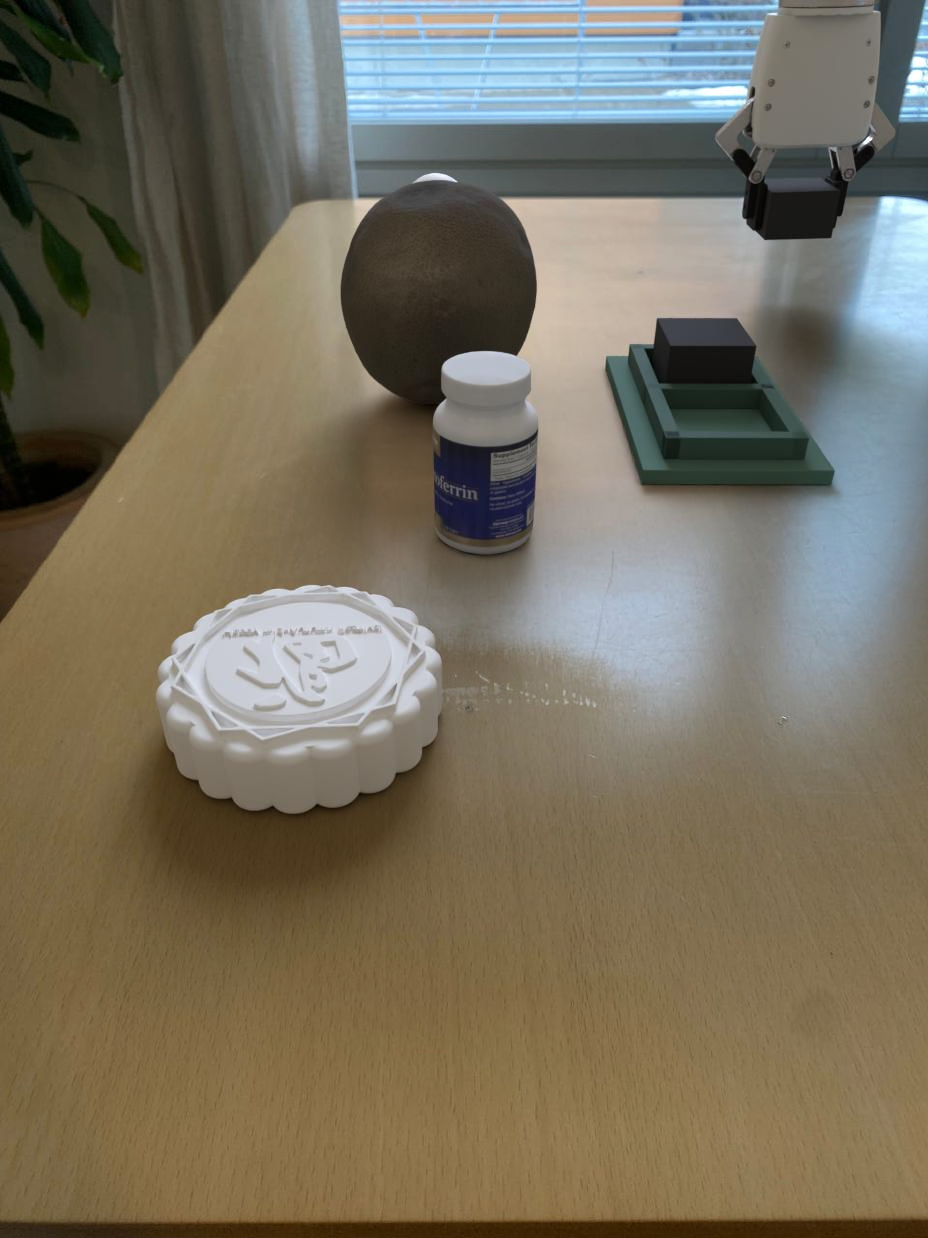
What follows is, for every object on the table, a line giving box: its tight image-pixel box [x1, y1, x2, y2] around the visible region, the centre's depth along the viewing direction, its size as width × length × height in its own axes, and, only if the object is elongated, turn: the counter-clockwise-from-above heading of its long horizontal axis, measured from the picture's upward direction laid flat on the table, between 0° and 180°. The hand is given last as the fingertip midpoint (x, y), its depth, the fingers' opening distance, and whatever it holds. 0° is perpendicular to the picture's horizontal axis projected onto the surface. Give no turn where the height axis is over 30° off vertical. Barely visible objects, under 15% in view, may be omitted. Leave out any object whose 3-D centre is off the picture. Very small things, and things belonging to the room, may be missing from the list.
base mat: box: [604, 343, 836, 485], centre depth 67 cm, size 12×20×2 cm, turn 0°
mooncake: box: [155, 584, 443, 815], centre depth 41 cm, size 12×12×4 cm
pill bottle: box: [432, 351, 539, 555], centre depth 52 cm, size 6×6×10 cm
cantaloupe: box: [340, 180, 538, 405], centre depth 66 cm, size 14×14×15 cm
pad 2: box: [755, 177, 840, 241], centre depth 86 cm, size 6×6×4 cm
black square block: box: [651, 317, 758, 384], centre depth 69 cm, size 6×6×4 cm
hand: (789, 224), depth 87 cm, fingers closed on pad 2, 6 cm apart
